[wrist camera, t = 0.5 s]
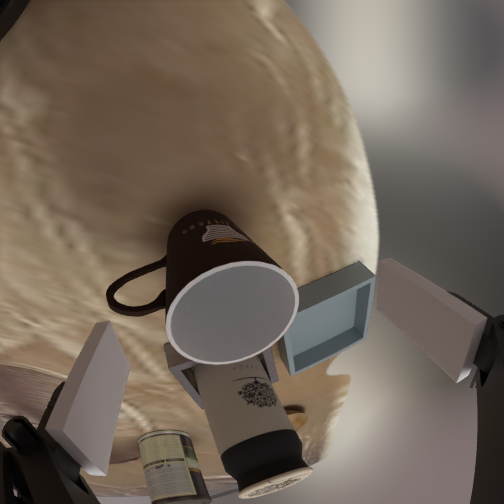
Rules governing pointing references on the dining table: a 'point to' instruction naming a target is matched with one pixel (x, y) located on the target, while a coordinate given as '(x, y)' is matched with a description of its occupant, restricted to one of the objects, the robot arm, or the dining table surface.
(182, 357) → the socket collar
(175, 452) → the coffee can
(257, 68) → the dining table surface
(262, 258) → the coffee mug
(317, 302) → the tray
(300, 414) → the plant saucer
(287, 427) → the travel mug
